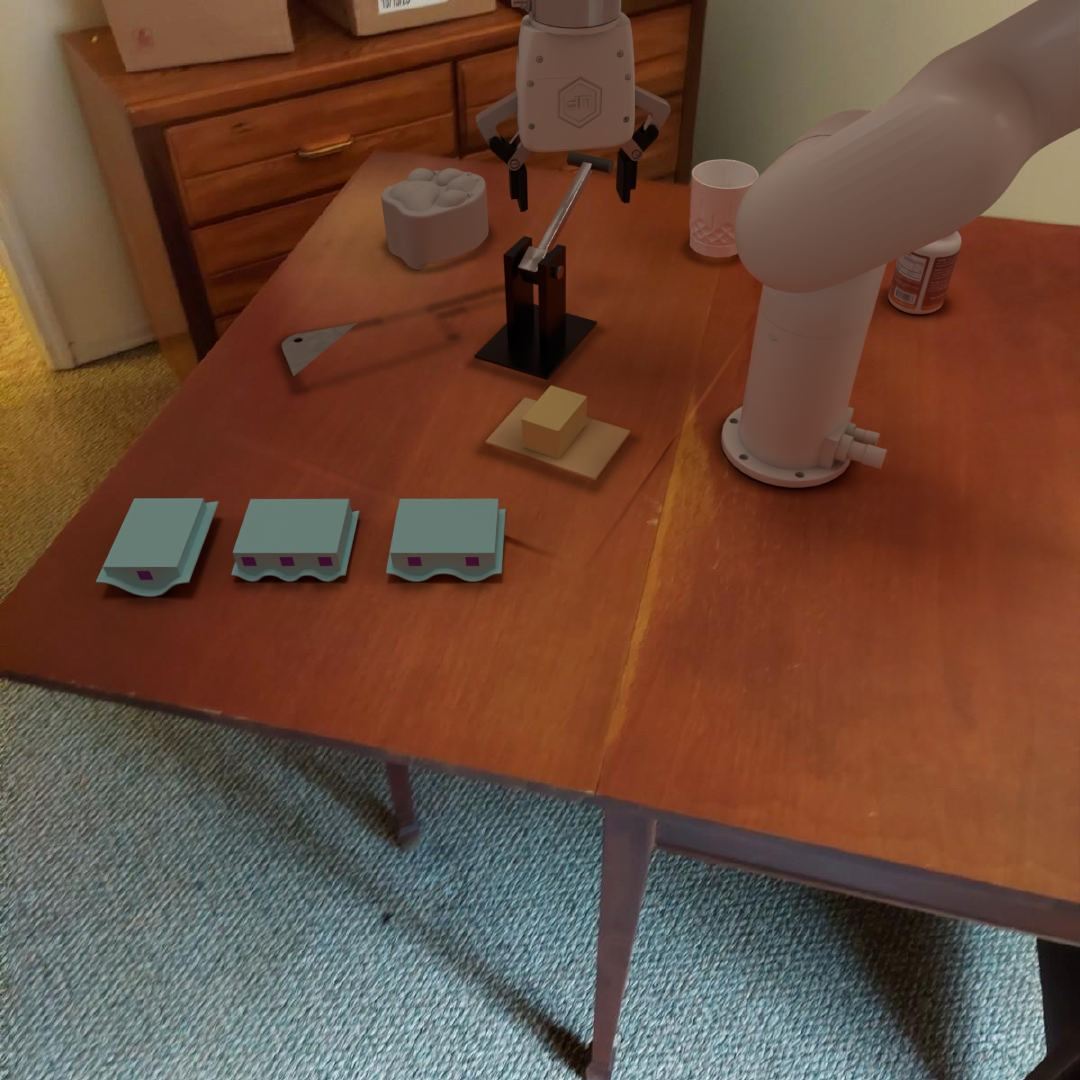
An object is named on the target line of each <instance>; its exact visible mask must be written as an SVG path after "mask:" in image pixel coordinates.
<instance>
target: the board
mask: <svg viewBox="0 0 1080 1080" xmlns="http://www.w3.org/2000/svg"><path fill="white" fill-rule="evenodd" d="M537 401H538V400H535V399H532V398H529V397H526V396H524V397H523V399H521V401H520V402H519V403H517V405H516V406H515V407H514V408H513V410H512V411H511V412H509V414H508V415H507V416H506V417H505V419H504V420H503V421H502V422H501V423H500V424H499V425H498V426H497V427H496V429H494V431H493V432H492V433H491V434H490V435H489V436H488V438H487V439H486V440H485V445H488V446H491V447H493V448H496V449H500V450H502V451H506V452H509V453H512V454H514V455H517V456H520V457H522V458H526V459H530V460H532V461H536V462H537V463H541V464H544V465H546V466H549V467H552V468H555V469H558V470H561V471H563V472H568V473H569V474H573V475H576V476H579V477H582V478H584V479H588V480H591V481H594V482H596V480H597V479H598V478H599V477H600V476H601V474H602V473H603V472H604V469H606V468H607V466H608V464H609V463H610V462H611V460H612V459H613V458H614V456H615V455H616V454H617V452H618V451H619V449H620V448H621V447H622V446H623V444H624V443H625V442H626V440H627V438H628V437H629V436H630V434H631V431H632V430H630V429H626V428H624V427H620V426H617V425H614V424H611V423H608V422H604V421H601V420H598V419H595V418H592V417H589V416H587V423H586V426H585V427H584V428H583V429H582V431H581V432H580V433H579V434H578V436H577V437H576V438H575V439H574V441H573V442H572V443H571V445H570V446H569V447H568V448H567V450H566V451H565V452H564V453H563V455H562V456H561V457H560V458H559V459H556V458H553V457H550V456H547V455H544V454H541V453H538V452H535V451H532V450H529V449H527V448H524V447H523V446H522V422H521V419H522V418H523V417H524V415H525V414H526V413H527V412H528V411H529V410H530V409H531V407H532V406H533V405H534V404H535V403H536V402H537Z"/></svg>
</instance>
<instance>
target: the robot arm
mask: <svg viewBox="0 0 1080 1080" xmlns="http://www.w3.org/2000/svg"><path fill="white" fill-rule="evenodd" d="M510 1H511V7H512V8H520V9H521V10H524V9H525V10H526V13H528V14H525V15H524V16H523V18H522V19H521V24H520V28H519V29H520V30H519V35H518V37H519V38H518V43H517V51H516V52H517V53H516V68H515V90H514V91H513V92H511V93H510V94H508V95H506V96H505V97H503V98H501V99H500V100H498V101H497V102H495V103H493V104H492V105H490V106H488V107H487V108H485V109H484V110H482V111H481V112H479V113H478V114H476V115H475V123H476V127H477V129H478V130H479V132H480V134H481V136H482V137H483V139H484V141H485V142H486V144H487V145H488V147H489V150H490V151H491V152H492V153H493V154H494V155H496V157H498V159H500V160H501V161H502V162H503V163H504V164H506V165H507V166H508V183H509V185H508V186H509V196H510V200H513V201H514V200H516V201H517V205H518V208H519V212H520V213H524V212H527V211H528V210H529V196H528V195H529V194H528V193H529V190H528V170H527V166H526V163H525V162H526V161H527V159H528V158H529V157H530V155H531V154H532V153H533V152H534V153H556V152H557V153H558V152H559V153H560V152H570V151H583V150H585V151H586V150H596V149H606V148H607V149H608V148H615V147H619V150H618V151H617V156H616V159H617V160H616V178H615V179H616V180H615V191H616V192H617V195H618V197H619V200H620V202H621V203H623V204H630V203H631V191H633V190H634V191H635V190H636V189H637V177H638V164H639V163H638V162H639V161H640V160H642V158H643V155H644V152H645V151H646V150H647V149H648V148H649V147H650V146H651V145H652V144H653V143H654V142H655V141H656V140H657V139H658V137H659V136H660V130H661V129H662V128H663V126H664V125H665V123H666V121H667V120H668V117H669V116H670V114H671V111H672V109H671V108H672V107H671V106H670V104H669V102H668V101H667V100H666V99H664V98H662V97H660V96H658V95H656V94H655V93H652V92H650V91H648V90H646V89H644V88H642V87H640V86H638V85H636V75H635V72H636V71H635V51H634V40H633V31H632V30H633V29H632V24H631V20H630V18H629V17H628V16H627V14H625V13H624V12H623V11H622V0H510ZM636 107H638V108H640V109H642V110H644V111H646V112H648V115H647V119H646V120H645V121H644V122H643V123H642V124H641V125H640V126H639V127H638V128H637V129H636V130H635V124H636V123H635V121H636ZM514 115H515V124H516V127H517V129H518V130H517V131H516V133H515V134H514V136H513V137H512V139H510V141H508V140H507V138H505V137H504V136H502V135H501V134H500V133H499V132H498V130H497V126H498V125H500V123H502V122H504V121H505V120H508V119H509V118H510V117H512V116H514ZM1079 129H1080V0H1036V1H1034V2H1031V4H1029V5H1027V6H1025V7H1024V8H1022V9H1020V10H1018V11H1017V12H1015V13H1014V14H1012V15H1010V16H1008V17H1007V18H1005V19H1003V20H1001V21H999V22H998V23H996V24H994V25H993V26H991V27H989V28H987V29H985V30H984V31H982V32H980V33H978V34H977V35H975V36H973V37H971V38H969V39H967V40H965V41H963V42H961V43H959V44H957V45H954V46H953V47H951V48H949V49H947V50H945V51H944V52H942V53H940V54H938V55H936V56H935V57H933V58H932V59H931V60H930V61H929V62H928V63H927V64H925V65H924V66H923V67H922V68H921V69H920V70H919V71H918V72H917V73H915V75H914V76H913V77H911V79H910V80H908V81H907V82H906V83H905V85H903V87H901V89H899V91H897V93H895V94H894V95H893V96H892V97H890V98H889V99H888V100H886V101H885V102H883V103H882V104H880V105H879V106H878V107H876V108H874V109H873V110H869V109H847V110H843V111H839V112H836V113H834V114H831V115H829V116H827V117H825V118H823V119H822V120H820V121H818V122H817V123H815V124H814V125H812V126H811V127H810V128H809V129H807V130H806V131H805V132H804V133H803V134H802V135H801V136H799V137H798V138H797V139H796V140H795V141H794V142H793V143H792V144H791V145H789V147H788V148H786V150H785V151H783V153H781V155H780V156H779V157H778V158H777V159H775V161H773V163H772V164H770V165H769V166H768V167H767V168H766V169H765V170H764V171H763V172H762V173H761V174H759V177H758V178H757V179H756V180H755V182H754V183H753V184H752V185H751V186H750V188H749V189H748V190H747V192H746V194H745V195H744V197H743V199H742V201H741V203H740V206H739V208H738V211H737V215H736V220H735V228H734V237H735V245H736V249H737V253H738V254H737V255H738V258H739V260H740V263H742V266H743V267H744V268H745V270H746V271H747V272H748V274H750V275H751V277H753V278H754V279H755V280H756V281H758V282H759V283H760V284H762V289H761V294H760V299H759V304H758V311H757V316H756V323H755V329H754V334H753V339H752V346H751V353H750V358H749V364H748V370H747V376H746V382H745V388H744V394H743V400H742V406H740V407H738V408H736V409H735V410H734V411H732V412H731V413H730V414H729V415H728V417H727V418H726V420H725V421H724V423H723V425H722V431H721V437H720V438H721V441H720V442H721V447H722V451H723V453H724V454H725V456H726V458H727V460H729V462H730V463H731V464H732V466H734V467H735V468H737V469H738V470H739V471H740V472H742V473H743V474H745V475H747V476H748V477H750V478H752V479H754V480H757V481H760V482H762V483H764V484H767V485H773V486H776V487H783V488H792V489H793V488H794V489H795V488H797V489H798V488H802V489H803V488H809V487H817V486H819V485H823V484H826V483H829V482H830V481H832V480H835V479H836V478H838V477H839V476H840V475H842V474H843V473H844V472H845V471H846V469H847V468H848V467H849V466H850V463H851V461H854V462H857V463H860V464H861V465H864V466H867V467H870V468H873V469H877V470H881V469H882V466H883V463H884V461H885V458H886V455H887V452H888V449H886V448H882V447H880V446H877V445H878V442H879V439H880V435H881V433H879V432H877V431H873V430H870V429H864V428H861V427H857V424H856V423H853V422H852V418H853V414H854V410H855V409H854V407H851V406H849V403H850V400H851V396H852V391H853V389H854V388H853V387H854V384H855V380H856V376H857V372H858V368H859V365H860V361H861V357H862V353H863V350H864V346H865V342H866V338H867V334H868V331H869V327H870V324H871V321H872V318H873V315H874V311H875V307H876V303H877V300H878V296H879V294H880V293H879V292H880V289H881V286H882V282H883V279H884V275H885V272H886V268H887V265H888V263H891V262H893V261H895V260H897V259H898V258H900V257H902V256H904V255H906V254H909V253H911V252H913V251H915V250H918V249H920V248H922V247H924V246H926V245H929V244H931V243H933V242H935V241H937V240H940V239H942V238H944V237H946V236H948V235H950V234H952V233H954V232H955V231H959V230H961V229H962V228H964V227H966V226H967V225H968V224H970V223H972V222H973V221H975V220H976V219H977V218H980V216H981V215H983V214H984V213H985V212H987V211H988V210H990V208H991V207H992V206H993V205H994V204H995V203H996V202H997V201H998V200H999V199H1000V198H1001V197H1002V196H1003V195H1004V194H1005V192H1006V191H1007V190H1008V189H1009V187H1010V186H1011V184H1012V183H1013V181H1014V180H1015V179H1016V177H1017V176H1018V174H1019V172H1020V171H1021V169H1022V168H1023V167H1024V166H1025V165H1026V163H1027V162H1028V161H1029V160H1030V159H1031V158H1032V157H1033V156H1034V155H1035V154H1037V153H1038V152H1039V151H1041V150H1042V149H1045V148H1046V147H1047V146H1049V145H1051V144H1052V143H1054V142H1056V141H1058V140H1060V139H1062V138H1064V137H1066V136H1067V135H1069V134H1072V133H1073V132H1076V131H1077V130H1079Z"/></svg>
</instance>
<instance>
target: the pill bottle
mask: <svg viewBox="0 0 1080 1080" xmlns="http://www.w3.org/2000/svg"><path fill="white" fill-rule="evenodd" d="M961 246H962V236H961V234H960V232H959V230H957V231H955V232H954V233H952V234H950V235H948V236H946V237H944V238H942V239H940V240H937V241H935V242H933V243H931V244H929V245H926V246H924V247H922V248H920V249H918V250H915V251H913V252H911V253H909V254H906V255H904V256H902V257H900V258H897V259H896V263H895V268H894V269H893V270H894V271H893V273H892V278H891V281H890V286H889V290H888V294H887V295H888V296H887V297H888V300H889V302H890V304H891V305H892V306H893V307H895V308H896V309H897V310H900V311H902V312H904V313H908V314H912V315H927V314H930V313H934V312H936V311H938V310H939V309H940V308H942V306H943V304H944V301H945V300H946V299H945V298H946V295H947V292H948V289H949V286H950V282H951V279H952V277H953V273H954V270H955V266H956V263H957V260H958V256H959V253H960V250H961Z"/></svg>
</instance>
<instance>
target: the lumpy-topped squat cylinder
mask: <svg viewBox="0 0 1080 1080" xmlns="http://www.w3.org/2000/svg"><path fill="white" fill-rule="evenodd" d="M380 199H381V207H382V214H383V222H384V227H385V229H384V230H385V236H386V242H387V249H388V251H389V253H391V254H392V255H394V256H396V257H398V258H400V259H401V260H402V261H403V262H404V263H405V264H406V266H408V267H409V268H410V269H412V270H416V271H422V270H423V269H425V267H427V266H428V265H431V264H437V263H440V262H445V261H448V260H450V259H453V258H456V257H458V256H461V255H464V254H466V253H469V252H472V251H473V250H475V249H477V248H478V247H479V246H480V245H481V244H482V243H484V241H485V240H486V239H487V237H488V235H489V231H490V227H489V212H488V196H487V183H486V181H485V179H484V177H482V175H479V174H476V173H472V172H470V171H462V170H460V169H458V168H454V167H448V168H445V169H443V170H441V171H440V170H438V169H437V170H434V171H432V170H430V169H428V168H425V167H417V168H415V169H413V170H411V171H410V172H409V174H408V175H407V179H403V180H402V181H398V182H396V183H394V184H391V185H389V186H387V187H386V188H384V190H383V191H382V193H381V194H380Z"/></svg>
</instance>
